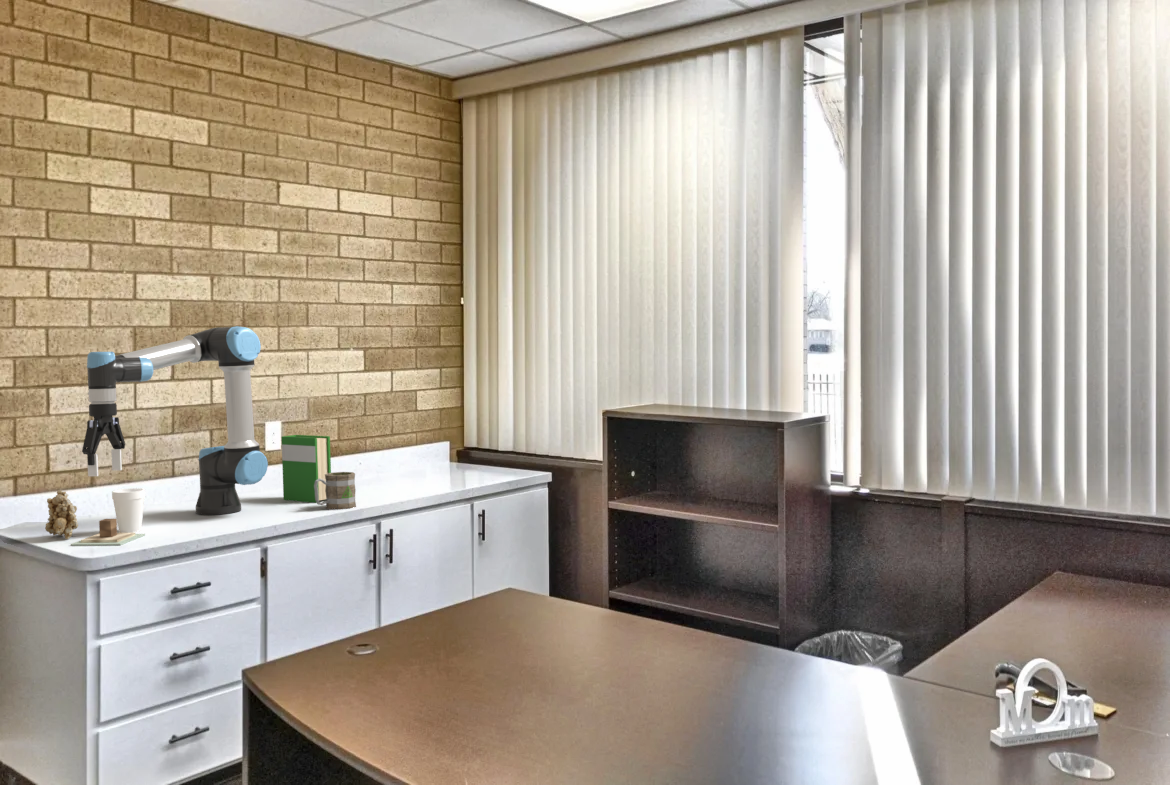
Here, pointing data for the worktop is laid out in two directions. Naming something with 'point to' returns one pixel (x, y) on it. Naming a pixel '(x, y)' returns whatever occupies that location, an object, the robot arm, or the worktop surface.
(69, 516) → the mineral formation
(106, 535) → the lid
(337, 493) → the mug
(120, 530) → the foam cup
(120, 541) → the mat
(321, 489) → the hardback book
